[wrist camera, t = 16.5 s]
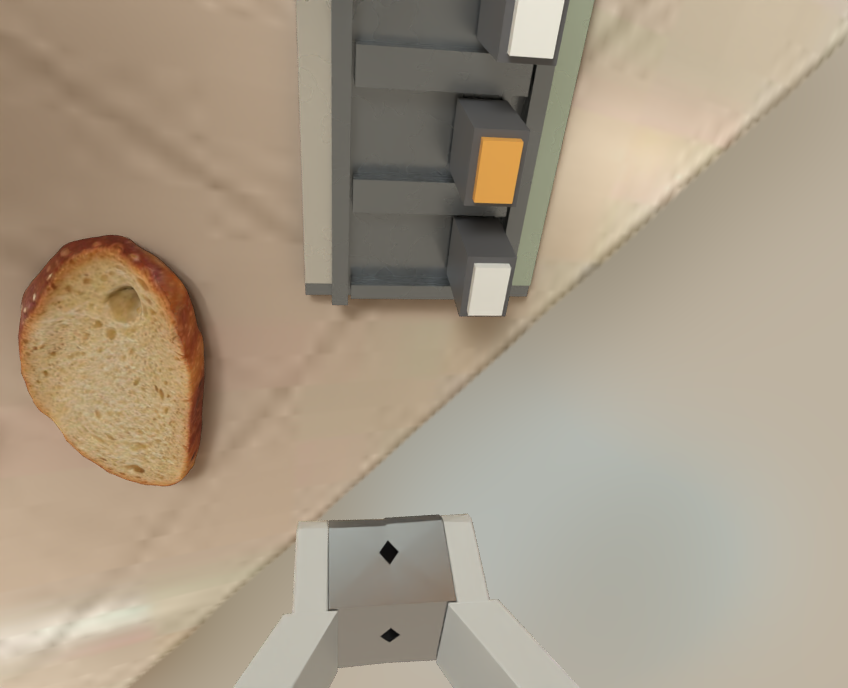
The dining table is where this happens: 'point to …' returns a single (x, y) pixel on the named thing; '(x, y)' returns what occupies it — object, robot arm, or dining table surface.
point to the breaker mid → (488, 152)
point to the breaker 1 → (480, 266)
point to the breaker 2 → (522, 30)
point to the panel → (412, 140)
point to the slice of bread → (116, 358)
